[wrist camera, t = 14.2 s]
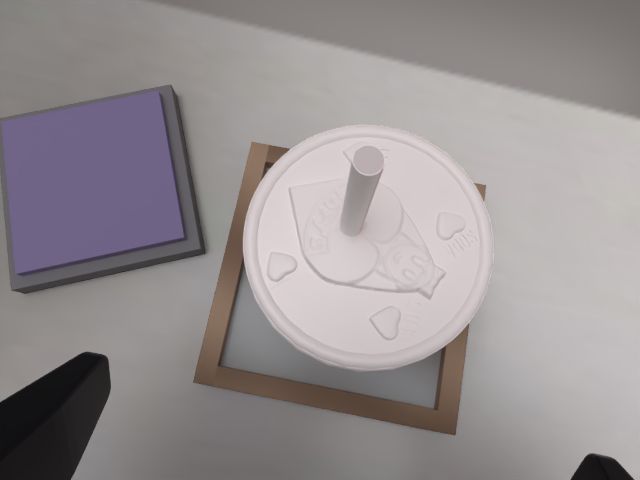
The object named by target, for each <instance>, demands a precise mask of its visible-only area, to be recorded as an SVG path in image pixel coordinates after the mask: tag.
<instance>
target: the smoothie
mask: <svg viewBox="0 0 640 480" xmlns="http://www.w3.org/2000/svg"><path fill="white" fill-rule="evenodd" d="M243 255H244V263H245V268H246V273H247V277H248V280H249V283H250V286H251V289H252V291H253V294H254V298H255V300H256V302H257V304H258V305H259V307H260V308H261V310H262V312H263V313H264V315H265V316H266V318H267V320H268V321H269V323H270V324H271V326H272V327H273V328H274V329H275V330H276V331H277V332H278V333H279V334H280V335H281V336H282V337H283V338H284V339H286V340H287V341H288V342H289V343H290V344H291V345H292V346H293V347H294V348H295V349H297V350H298V351H300V352H302V353H304V354H306V355H308V356H310V357H312V358H314V359H316V360H318V361H320V362H321V363H323V364H325V365H328V366H333V367H338V368H343V369H347V370H352V371H357V372H368V371H384V370H394V369H397V368H400V367H403V366H405V365H408V364H411V363H414V362H417V361H420V360H423V359H425V358H426V357H427V356H429V355H431V354H433V353H435V352H437V351H438V350H440V349H441V348H443V347H444V346H446V345H447V344H448V343H449V342H451V341H452V340H453V339H454V338H455V337H456V336H457V335H458V334H459V333H461V332H462V331H463V329H464V328H465V327H466V326H467V325H468V323H469V322H470V321H471V320H472V318H473V317H474V315H475V314H476V312H477V311H478V309H479V307H480V305H481V303H482V301H483V299H484V296H485V294H486V292H487V289H488V286H489V282H490V279H491V274H492V269H493V260H494V239H493V231H492V226H491V222H490V217H489V214H488V211H487V208H486V206H485V203H484V201H483V199H482V197H481V195H480V193H479V191H478V189H477V188H476V186H475V184H474V183H473V181H472V180H471V178H470V177H469V176H468V174H467V173H466V172H465V171H464V170H463V168H462V167H461V166H460V165H459V164H458V163H457V162H456V161H455V160H454V159H453V158H452V157H450V156H449V155H448V154H447V153H446V152H444V151H443V150H442V149H440V148H439V147H437V146H436V145H434V144H433V143H431V142H429V141H427V140H425V139H424V138H421V137H419V136H417V135H415V134H412V133H409V132H406V131H403V130H400V129H396V128H392V127H386V126H379V125H352V126H344V127H339V128H335V129H331V130H328V131H325V132H321V133H319V134H317V135H314V136H312V137H310V138H308V139H306V140H304V141H302V142H301V143H299V144H298V145H296V146H295V147H293V148H292V149H290V150H289V151H288V152H287V153H285V154H284V155H283V156H282V157H281V158H280V159H279V160H278V161H277V162H276V163H275V164H274V165H273V166H272V167H271V168H270V170H269V171H268V172H267V173H266V175H265V176H264V178H263V179H262V181H261V182H260V184H259V186H258V187H257V189H256V191H255V193H254V195H253V198H252V200H251V202H250V205H249V208H248V212H247V215H246V220H245V225H244V234H243Z"/></svg>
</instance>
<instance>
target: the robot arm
mask: <svg viewBox="0 0 640 480" xmlns="http://www.w3.org/2000/svg"><path fill="white" fill-rule="evenodd" d="M110 390H111V381H110V371H109V362H108V358H107V357H106V356H105V355H102V354H97V353H92V352H84V353H81V354H79V355H78V356H76V357H74V358H73V359H71V360H69V361H68V362H66V363H64V364H63V365H61V366H59V367H58V368H56V369H54V370H53V371H51V372H49V373H48V374H46V375H44V376H43V377H41V378H40V379H38V380H36V381H35V382H33V383H31V384H30V385H28V386H26V387H25V388H23V389H21V390H20V391H18V392H16V393H15V394H13V395H11V396H10V397H8V398H6V399H5V400H3V401H1V402H0V480H71V478H72V476H73V474H74V472H75V470H76V468H77V466H78V464H79V462H80V460H81V457H82V455H83V453H84V451H85V449H86V446H87V444H88V442H89V440H90V437H91V435H92V433H93V431H94V429H95V426H96V424H97V422H98V420H99V417H100V415H101V413H102V411H103V408H104V406H105V404H106V402H107V400H108V397H109V394H110ZM571 480H634V479H633V478H632V477H631V476H630V475H629V474H628V472H627V471H626V470H625V469H624V468H623V467H622V466H621V465H620V464H619V463H618V462H617V461H616V460H615V459H614V458H612V457H608V456H603V455H599V454H594V453H591V454H589V455H587V456H586V457H585V458H584V460H583V461H582V463H581V464H580V466H579V467H578V469H577V470H576V472H575V473H574V475H573V476H572V478H571Z"/></svg>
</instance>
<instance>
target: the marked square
mask: <svg viewBox="0 0 640 480" xmlns="http://www.w3.org/2000/svg"><path fill="white" fill-rule="evenodd" d="M289 150H290V149H287V148H282V147H277V146H271V145H266V144H260V143H255V142H252V143H251V147H250V151H249V155H248V160H247V164H246V168H245V172H244V176H243V180H242V184H241V188H240V192H239V196H238V200H237V205H236V209H235V213H234V217H233V221H232V225H231V229H230V233H229V237H228V241H227V246H226V250H225V254H224V258H223V262H222V266H221V270H220V274H219V278H218V282H217V286H216V291H215V295H214V299H213V303H212V307H211V311H210V315H209V319H208V323H207V327H206V331H205V336H204V340H203V344H202V348H201V352H200V356H199V360H198V364H197V368H196V372H195V377H194V381H193V382H194V383H199V384H204V385H209V386H214V387H219V388H224V389H229V390H234V391H239V392H243V393H248V394H253V395H258V396H263V397H268V398H273V399H278V400H283V401H288V402H293V403H298V404H303V405H308V406H313V407H317V408H322V409H327V410H332V411H337V412H342V413H347V414H352V415H357V416H362V417H367V418H372V419H377V420H382V421H387V422H391V423H396V424H401V425H406V426H411V427H416V428H421V429H426V430H431V431H436V432H441V433H446V434H451V435H455V434H456V426H457V418H458V409H459V401H460V393H461V385H462V377H463V369H464V361H465V352H466V344H467V336H468V328H469V323H468V325H467V326H466V327H465V328H464V329H463V331H462V332H461V333H459V334H458V335H457V336H456V337H455V338H454V339H453V340H452V341H451V342H449V343H448V344H447V345H446V346H444V347H443V348H441V349H440V350H438V351H437V352H435V353H433V354H431V355H429V356H427V357H426V358H425V359H423V360H420V361H417V362H414V363H411V364H408V365H405V366H403V367H400V368H397V369H394V370H384V371H368V372H357V371H352V370H347V369H343V368H338V367H333V366H328V365H325V364H323V363H321V362H320V361H318V360H316V359H314V358H312V357H310V356H308V355H306V354H304V353H302V352H300V351H298V350H297V349H295V348H294V347H293V346H292V345H291V344H290V343H289V342H288V341H287V340H286V339H284V338H283V337H282V336H281V335H280V334H279V333H278V332H277V331H276V330H275V329H274V328H273V327H272V326H271V324H270V323H269V321H268V320H267V318H266V316H265V315H264V313H263V312H262V310H261V308H260V307H259V305H258V304H257V302H256V300H255V298H254V294H253V291H252V289H251V286H250V283H249V280H248V277H247V273H246V268H245V263H244V255H243V234H244V225H245V220H246V215H247V212H248V208H249V205H250V202H251V200H252V198H253V195H254V193H255V191H256V189H257V187H258V186H259V184H260V182H261V181H262V179H263V178H264V176H265V175H266V173H267V172H268V171H269V170H270V168H271V167H272V166H273V165H274V164H275V163H276V162H277V161H278V160H279V159H280V158H281V157H282V156H283V155H284V154H285V153H287V152H288V151H289ZM474 184H475V186H476V188H477V189H478V191H479V193H480V195H481V197H482V199H483V201H484V198H485V190H486V185H482V184H476V183H474Z"/></svg>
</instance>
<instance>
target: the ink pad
mask: <svg viewBox="0 0 640 480" xmlns="http://www.w3.org/2000/svg"><path fill="white" fill-rule="evenodd" d="M0 172H1V183H2V194H3V205H4V217H5V228H6V239H7V250H8V261H9V272H10V283H11V290H12V291H16V292H21V293H29V292H33V291H38V290H42V289H47V288H51V287H56V286H60V285H65V284H69V283H74V282H78V281H83V280H88V279H92V278H97V277H101V276H106V275H110V274H115V273H119V272H124V271H128V270H133V269H137V268H142V267H147V266H151V265H156V264H160V263H165V262H169V261H174V260H178V259H183V258H187V257H192V256H196V255H201V254H205V249H204V243H203V238H202V232H201V227H200V221H199V216H198V211H197V205H196V200H195V194H194V189H193V183H192V178H191V172H190V167H189V161H188V156H187V150H186V145H185V139H184V134H183V128H182V123H181V117H180V112H179V106H178V101H177V96H176V94H175V92H174V90H173V88H172V86H171V85H166V86H161V87H156V88H151V89H146V90H141V91H136V92H131V93H126V94H121V95H115V96H110V97H105V98H100V99H95V100H90V101H85V102H80V103H75V104H70V105H65V106H60V107H55V108H50V109H45V110H40V111H35V112H30V113H25V114H20V115H14V116H9V117H4V118H0Z"/></svg>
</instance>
